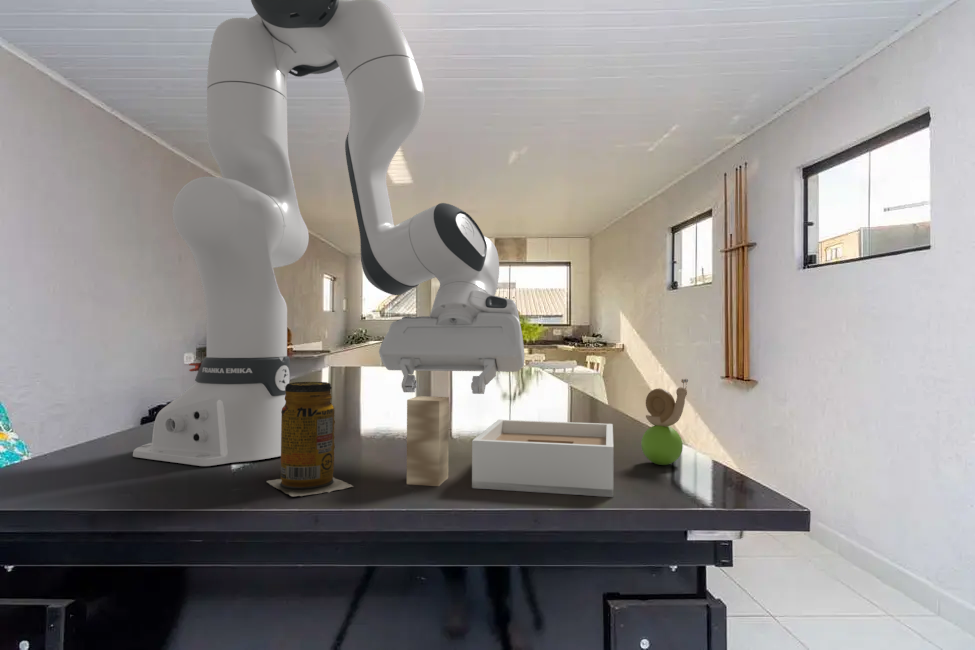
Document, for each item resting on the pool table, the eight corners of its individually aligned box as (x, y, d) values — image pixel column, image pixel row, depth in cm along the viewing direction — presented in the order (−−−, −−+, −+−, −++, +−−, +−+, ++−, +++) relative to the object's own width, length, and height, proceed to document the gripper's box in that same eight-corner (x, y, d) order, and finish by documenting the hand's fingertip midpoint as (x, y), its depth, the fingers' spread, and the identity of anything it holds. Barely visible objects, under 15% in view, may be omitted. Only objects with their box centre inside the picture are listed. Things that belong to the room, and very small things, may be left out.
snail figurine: (675, 472, 74) (675, 379, 74) (633, 464, 79) (633, 376, 79) (696, 466, 77) (697, 377, 77) (655, 458, 82) (655, 374, 82)
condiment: (323, 473, 73) (324, 379, 73) (353, 488, 66) (354, 384, 66) (265, 483, 68) (266, 382, 68) (291, 499, 62) (292, 388, 62)
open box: (472, 488, 66) (472, 440, 66) (498, 458, 82) (498, 419, 82) (613, 497, 63) (613, 446, 63) (612, 463, 78) (612, 423, 79)
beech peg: (406, 484, 68) (407, 399, 68) (417, 475, 72) (418, 396, 72) (438, 486, 67) (439, 400, 67) (448, 477, 71) (448, 397, 71)
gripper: (388, 302, 84) (360, 373, 74) (526, 300, 80) (515, 375, 70) (399, 332, 88) (374, 403, 79) (530, 332, 84) (521, 407, 75)
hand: (442, 390), depth 75 cm, fingers open, 8 cm apart
